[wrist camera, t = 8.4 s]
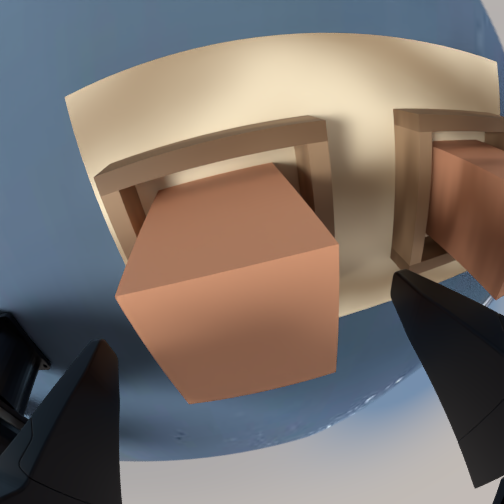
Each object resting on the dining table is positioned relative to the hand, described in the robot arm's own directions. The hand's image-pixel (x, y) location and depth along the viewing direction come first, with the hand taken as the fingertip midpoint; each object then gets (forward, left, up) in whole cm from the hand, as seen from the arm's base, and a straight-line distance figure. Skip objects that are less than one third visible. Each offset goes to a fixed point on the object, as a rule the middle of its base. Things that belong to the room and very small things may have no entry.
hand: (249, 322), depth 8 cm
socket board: (0, -6, -8) cm, 10 cm away
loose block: (0, 0, -6) cm, 6 cm away
